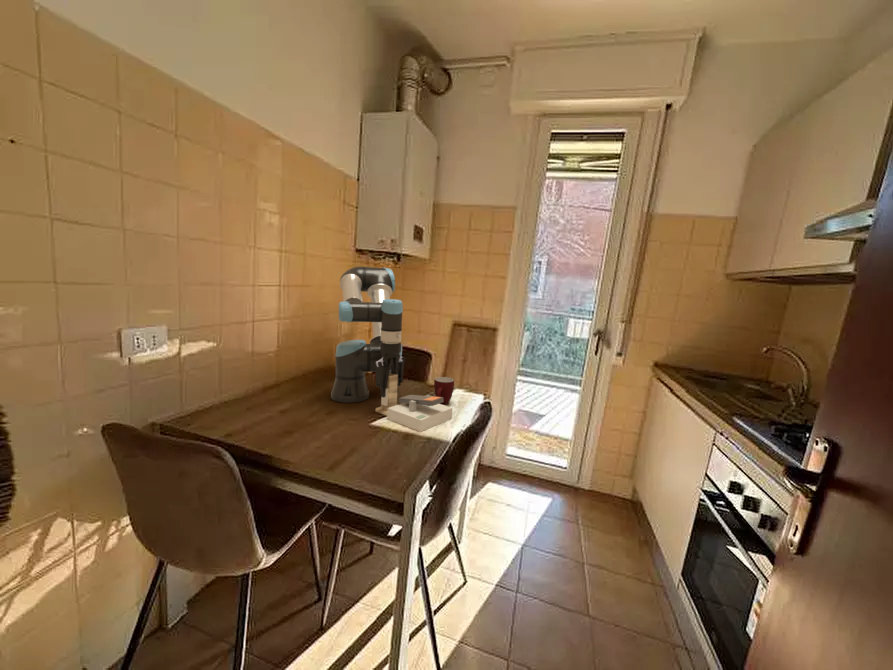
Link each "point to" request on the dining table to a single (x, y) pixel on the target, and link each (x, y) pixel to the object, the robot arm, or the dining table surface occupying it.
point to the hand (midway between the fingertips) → (389, 403)
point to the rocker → (422, 400)
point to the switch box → (419, 415)
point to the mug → (444, 388)
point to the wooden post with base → (390, 394)
